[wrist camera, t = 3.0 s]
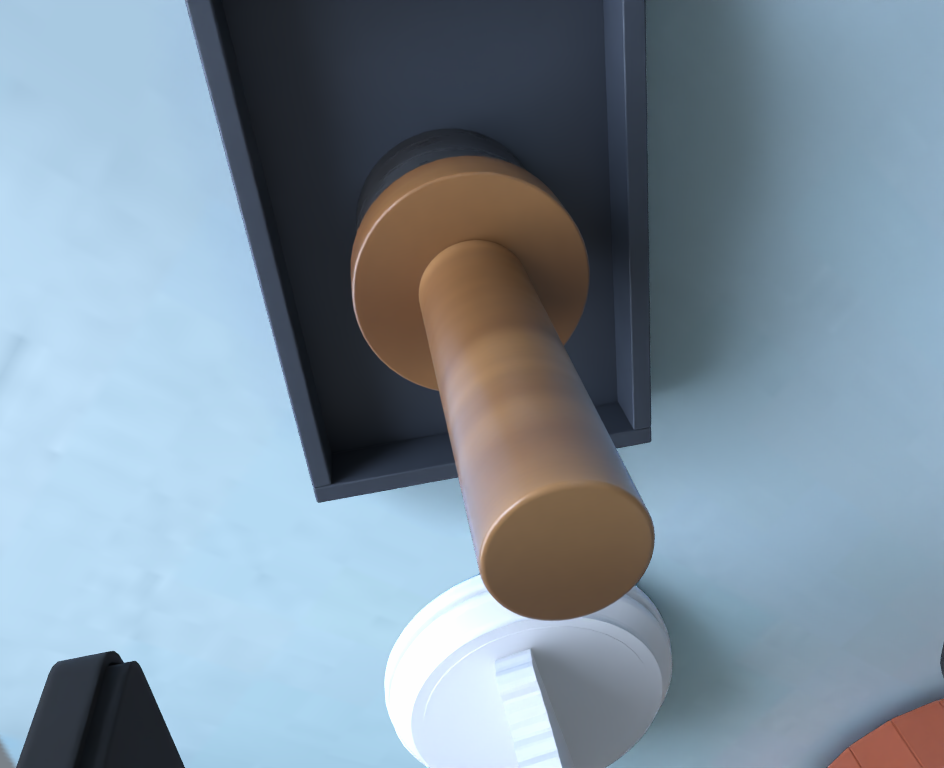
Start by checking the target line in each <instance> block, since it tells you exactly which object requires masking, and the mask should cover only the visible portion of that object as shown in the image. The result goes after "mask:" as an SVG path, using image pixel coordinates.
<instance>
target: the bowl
mask: <svg viewBox="0 0 944 768" xmlns="http://www.w3.org/2000/svg"><path fill="white" fill-rule="evenodd" d="M827 768H944V699H940V700H939V701H938V700H936V701H934V702H931V703H929V704H926V705H924V706H921V707H919V708H917V709H914V710H912V711H909V712H907V713H905V714H902V715H900V716H897V717H895V718H892V719H891V720H889V721H887V722H886V723H884V724H883V725H881V726H880V727H878V728H876V729H875V730H873V731H872V732H870V733H869V734H867V735H866V736H864V737H863V738H861V739H859V740H858V741H856V742H855V743H853V744H852V745H850V746H849V747H848V748H846V749H845V750H844V751H843V752H842V753H841V754H840V755H839V756H838V757H837V758H836V759H835V760H834V761H833V762H832V763H831V764H830V765H829V766H828V767H827Z"/></svg>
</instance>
